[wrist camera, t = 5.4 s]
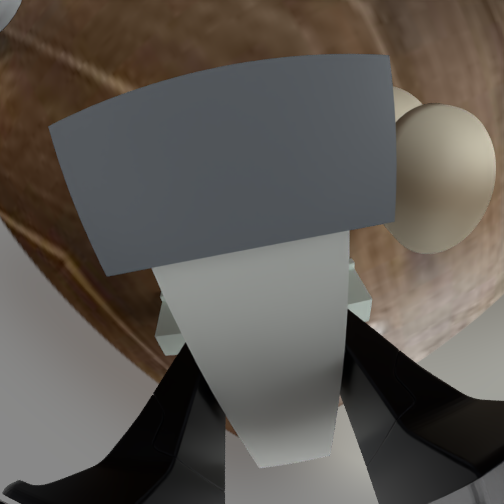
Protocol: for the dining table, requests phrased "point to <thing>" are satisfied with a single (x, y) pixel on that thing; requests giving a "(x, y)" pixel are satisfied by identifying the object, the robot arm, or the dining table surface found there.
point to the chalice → (7, 11)
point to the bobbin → (439, 174)
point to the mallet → (246, 222)
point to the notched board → (174, 340)
